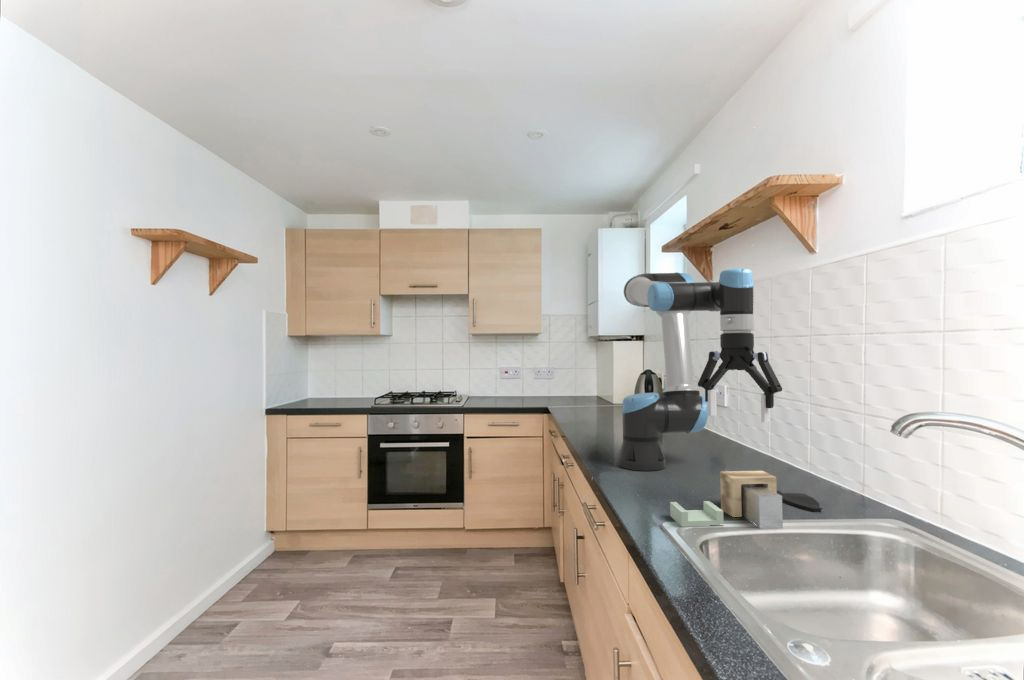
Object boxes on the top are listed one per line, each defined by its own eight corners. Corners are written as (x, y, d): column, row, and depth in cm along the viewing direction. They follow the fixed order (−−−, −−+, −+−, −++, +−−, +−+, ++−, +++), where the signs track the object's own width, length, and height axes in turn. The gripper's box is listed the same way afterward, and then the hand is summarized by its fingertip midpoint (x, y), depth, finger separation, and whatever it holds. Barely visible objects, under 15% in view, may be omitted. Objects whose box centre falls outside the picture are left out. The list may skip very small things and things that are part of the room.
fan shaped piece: (793, 514, 116) (793, 507, 116) (771, 496, 130) (771, 490, 130) (831, 515, 115) (831, 508, 115) (806, 497, 128) (805, 491, 128)
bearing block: (720, 509, 118) (720, 471, 119) (762, 508, 119) (762, 470, 119) (733, 518, 112) (732, 478, 113) (777, 516, 113) (776, 477, 113)
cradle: (670, 515, 114) (670, 502, 114) (709, 514, 115) (709, 500, 115) (681, 527, 107) (681, 512, 107) (723, 525, 108) (723, 511, 108)
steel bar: (722, 504, 123) (722, 475, 123) (742, 503, 123) (742, 475, 123) (759, 529, 106) (759, 496, 106) (782, 528, 106) (782, 495, 106)
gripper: (683, 333, 130) (684, 414, 130) (782, 331, 110) (783, 426, 110) (699, 333, 135) (700, 411, 135) (797, 331, 115) (798, 423, 115)
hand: (737, 418), depth 122 cm, fingers open, 13 cm apart
